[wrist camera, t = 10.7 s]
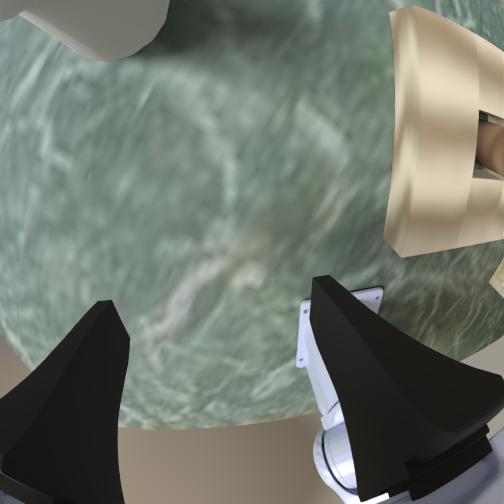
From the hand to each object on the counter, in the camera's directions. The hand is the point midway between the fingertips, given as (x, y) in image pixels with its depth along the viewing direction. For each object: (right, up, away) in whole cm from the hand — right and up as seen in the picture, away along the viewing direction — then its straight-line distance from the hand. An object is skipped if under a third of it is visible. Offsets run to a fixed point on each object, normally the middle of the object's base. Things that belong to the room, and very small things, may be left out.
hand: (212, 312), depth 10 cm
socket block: (+20, +12, +7) cm, 25 cm away
